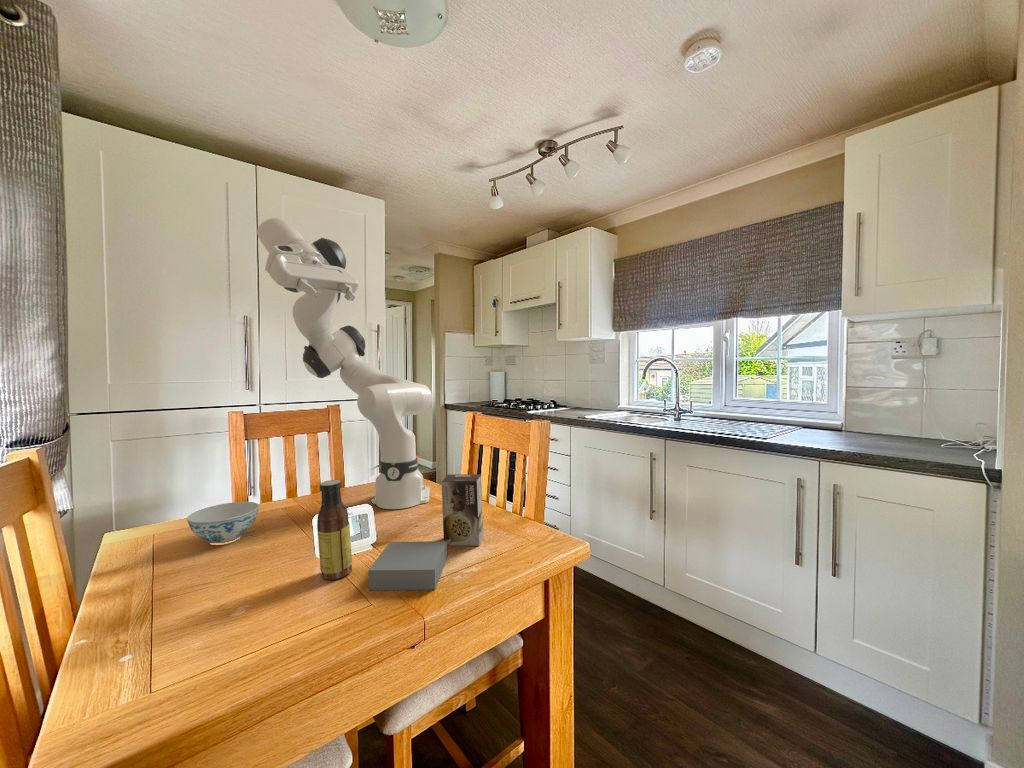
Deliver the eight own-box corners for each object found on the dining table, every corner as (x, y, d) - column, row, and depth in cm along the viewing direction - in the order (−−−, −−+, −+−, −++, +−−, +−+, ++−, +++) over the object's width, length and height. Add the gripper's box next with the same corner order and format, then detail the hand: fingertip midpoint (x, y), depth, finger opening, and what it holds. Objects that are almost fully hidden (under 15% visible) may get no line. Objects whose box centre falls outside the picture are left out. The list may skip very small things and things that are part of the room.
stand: (390, 559, 92) (389, 541, 92) (447, 558, 91) (446, 541, 91) (369, 590, 79) (368, 570, 79) (435, 589, 78) (434, 569, 78)
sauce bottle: (345, 563, 90) (342, 475, 89) (357, 573, 85) (354, 481, 85) (314, 574, 85) (311, 482, 85) (325, 585, 81) (321, 487, 80)
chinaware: (216, 557, 94) (215, 524, 94) (173, 549, 99) (172, 518, 99) (273, 532, 109) (272, 504, 108) (233, 526, 114) (231, 499, 113)
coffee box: (483, 535, 104) (482, 473, 103) (479, 546, 97) (477, 480, 97) (449, 535, 105) (447, 473, 104) (442, 545, 98) (440, 480, 98)
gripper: (335, 279, 108) (365, 310, 104) (257, 269, 91) (289, 305, 87) (344, 258, 106) (375, 289, 102) (265, 244, 88) (299, 280, 84)
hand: (335, 297), depth 94 cm, fingers open, 8 cm apart
